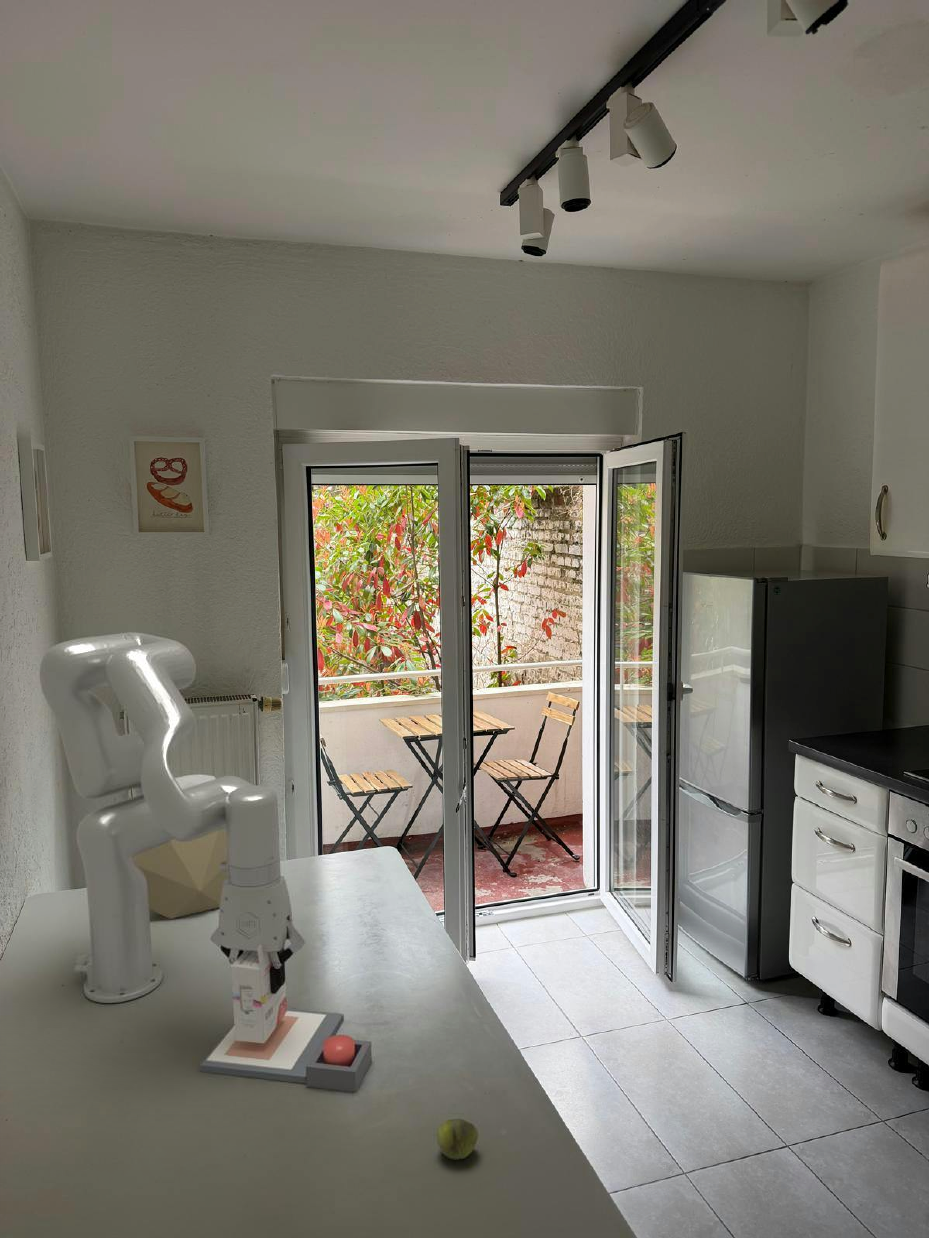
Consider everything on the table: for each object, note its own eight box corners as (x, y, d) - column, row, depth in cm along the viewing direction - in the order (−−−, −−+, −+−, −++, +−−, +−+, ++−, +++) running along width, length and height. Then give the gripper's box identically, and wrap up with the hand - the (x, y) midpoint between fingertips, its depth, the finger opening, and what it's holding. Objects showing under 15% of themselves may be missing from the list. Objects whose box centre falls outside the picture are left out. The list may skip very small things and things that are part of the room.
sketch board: (200, 1071, 125) (200, 1062, 125) (249, 1010, 141) (248, 1002, 141) (305, 1083, 122) (305, 1074, 122) (343, 1019, 138) (343, 1011, 137)
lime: (432, 1154, 108) (431, 1116, 107) (464, 1137, 111) (463, 1100, 110) (452, 1175, 104) (451, 1136, 104) (485, 1158, 107) (484, 1120, 107)
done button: (319, 1071, 122) (318, 1051, 122) (330, 1052, 127) (329, 1033, 126) (349, 1074, 121) (348, 1054, 121) (359, 1055, 126) (358, 1036, 125)
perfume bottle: (260, 904, 180) (254, 772, 177) (138, 934, 168) (129, 793, 165) (243, 884, 191) (237, 759, 188) (127, 910, 179) (118, 777, 176)
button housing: (306, 1086, 121) (305, 1066, 121) (324, 1055, 128) (324, 1036, 128) (356, 1092, 120) (355, 1071, 120) (371, 1060, 127) (371, 1041, 127)
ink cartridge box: (257, 1009, 136) (254, 919, 135) (287, 1012, 135) (284, 922, 134) (232, 1041, 128) (228, 945, 126) (264, 1044, 127) (260, 948, 125)
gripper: (188, 877, 127) (195, 995, 129) (299, 885, 124) (303, 1006, 126) (213, 857, 134) (218, 969, 136) (318, 864, 131) (322, 979, 133)
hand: (259, 985), depth 131 cm, fingers closed on ink cartridge box, 5 cm apart
